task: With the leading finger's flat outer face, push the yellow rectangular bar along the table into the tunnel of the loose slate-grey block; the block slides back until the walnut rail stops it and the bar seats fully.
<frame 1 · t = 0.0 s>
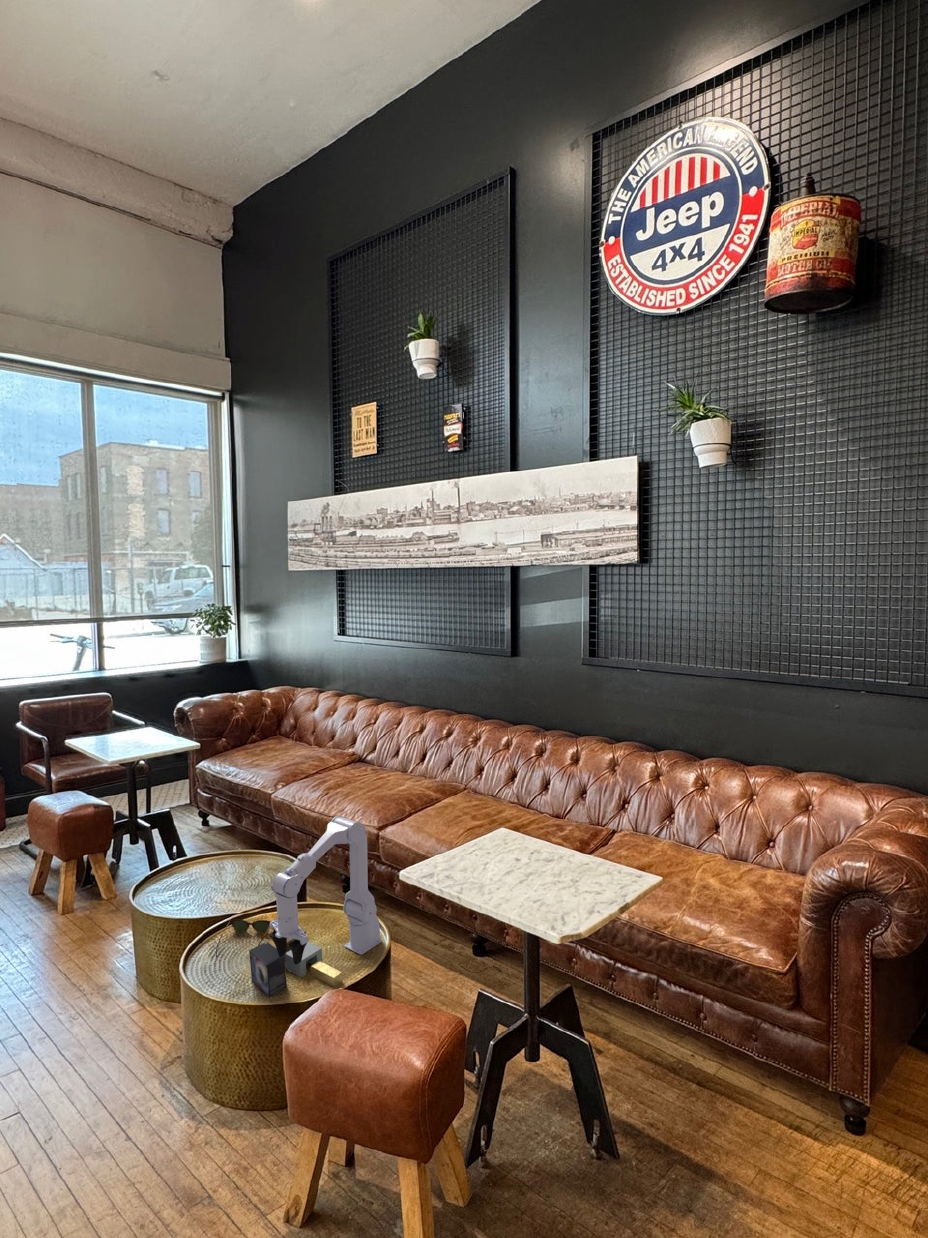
hand: (290, 958, 211), 10 cm above the table, fingers open, 6 cm apart
socket block: (304, 966, 224), on the table
sunglasses: (243, 946, 236), on the table
small box: (268, 985, 216), on the table, touching gripper
yellow rectangular bar: (326, 979, 218), on the table
backstop wall: (288, 957, 228), on the table
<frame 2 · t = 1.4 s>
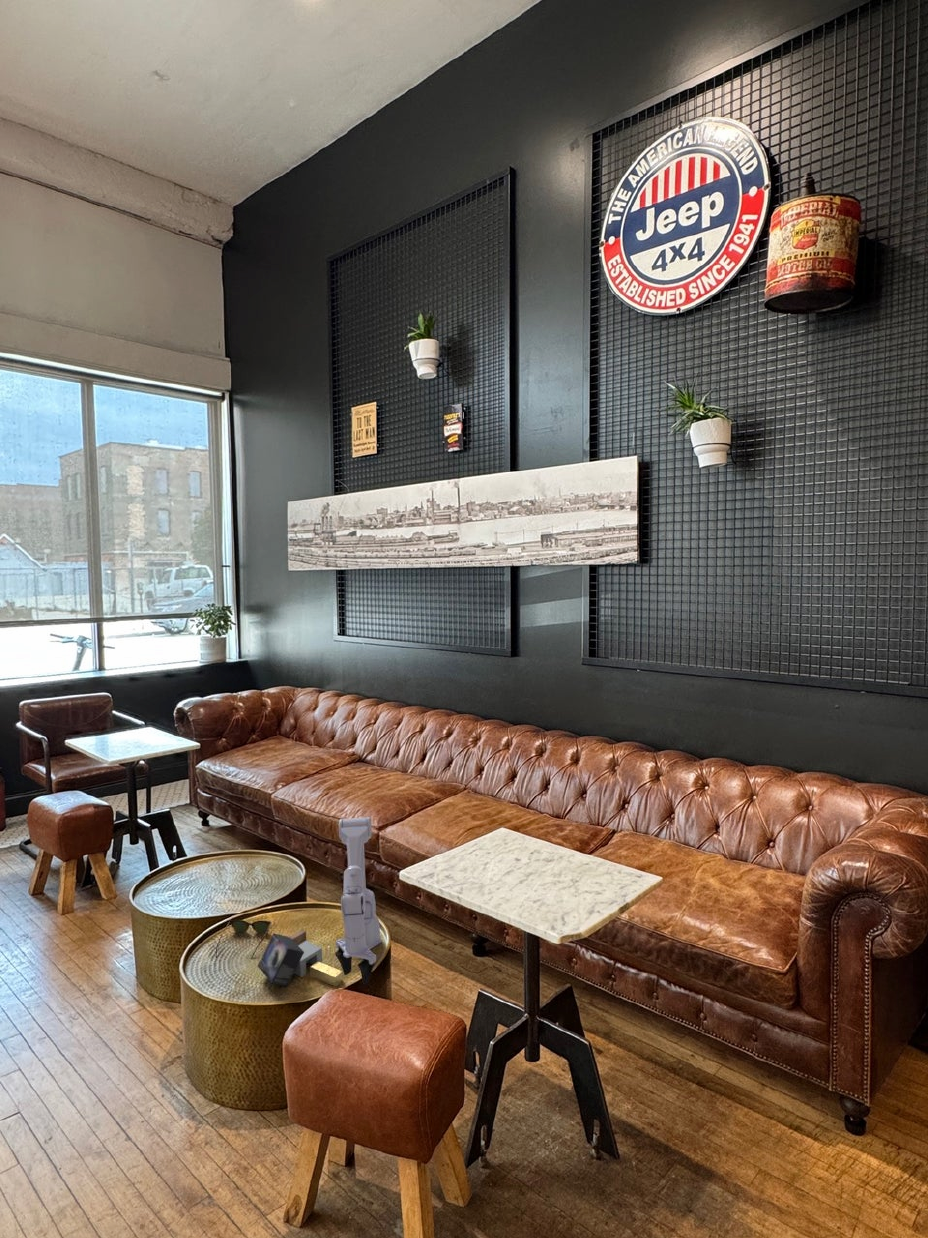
hand: (356, 978, 209), 5 cm above the table, fingers open, 7 cm apart
socket block: (304, 966, 224), on the table, touching small box
small box: (271, 977, 216), point 2 cm above the table, touching socket block
everything else where it was.
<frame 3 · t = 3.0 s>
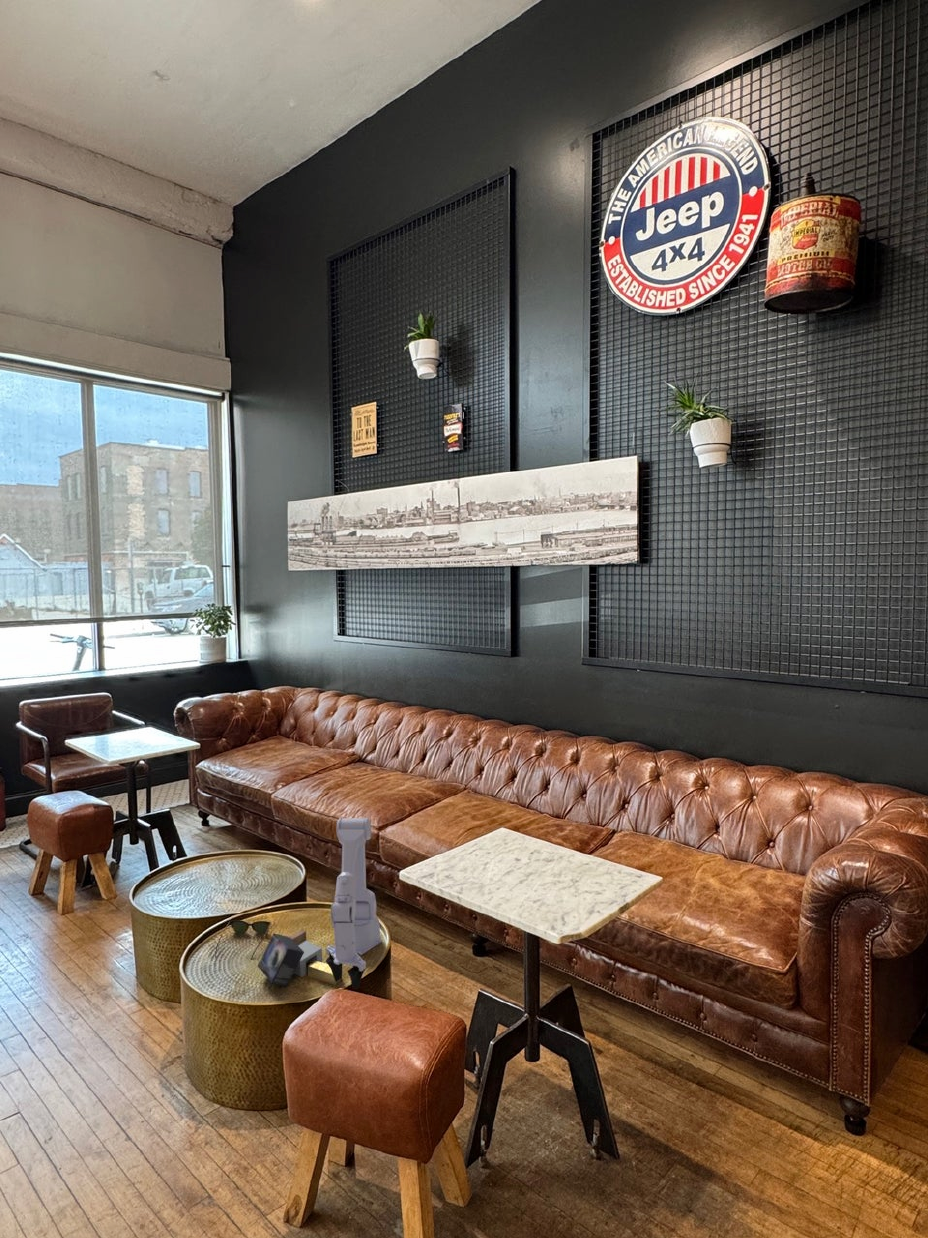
hand: (347, 984, 212), 1 cm above the table, fingers open, 7 cm apart
yellow rectangular bar: (324, 977, 218), on the table, touching gripper
everything else where it was.
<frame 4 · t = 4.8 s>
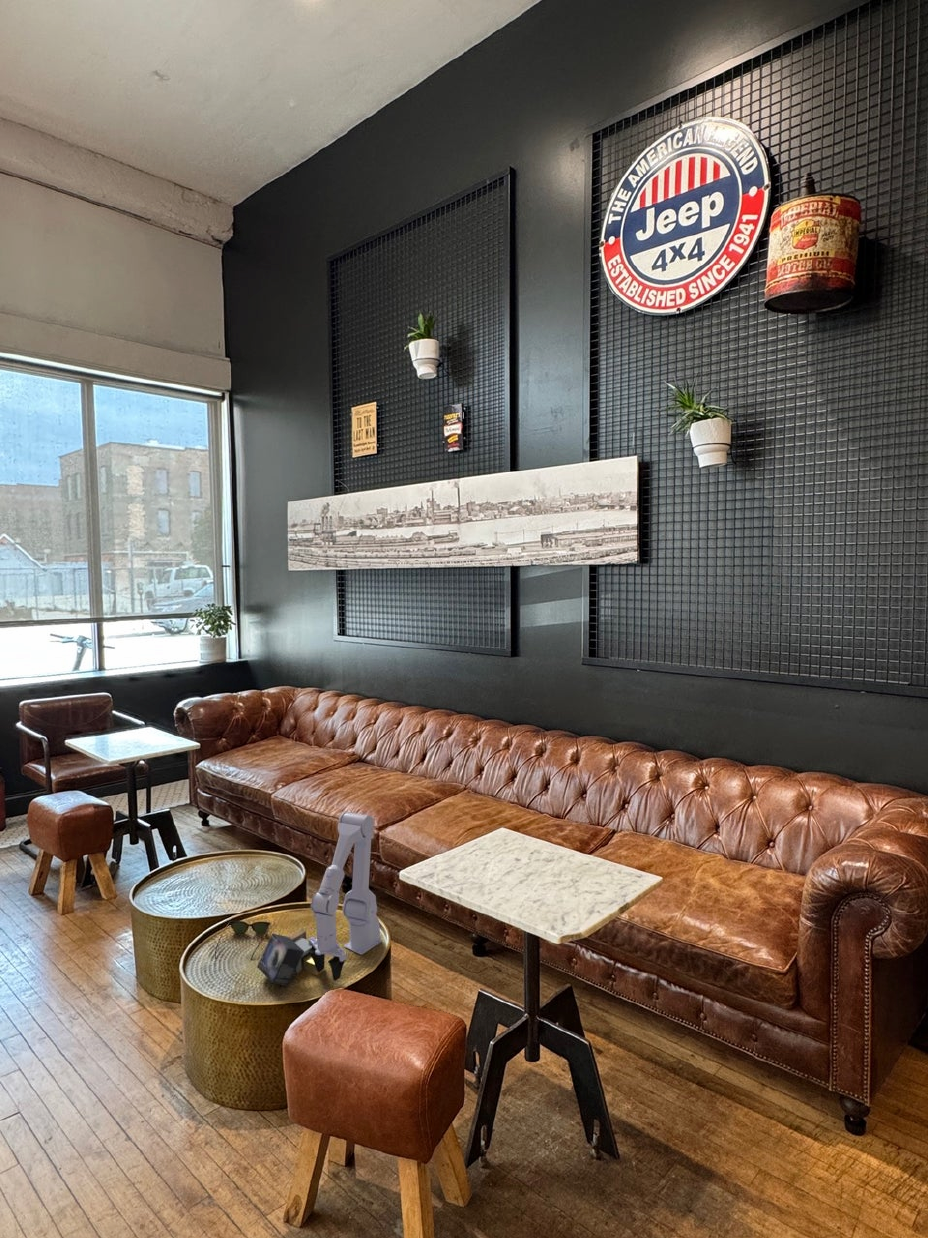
hand: (328, 974, 217), 2 cm above the table, fingers open, 6 cm apart
socket block: (299, 962, 226), on the table, touching yellow rectangular bar, small box
yellow rectangular bar: (309, 967, 223), on the table, touching gripper, socket block
everything else where it was.
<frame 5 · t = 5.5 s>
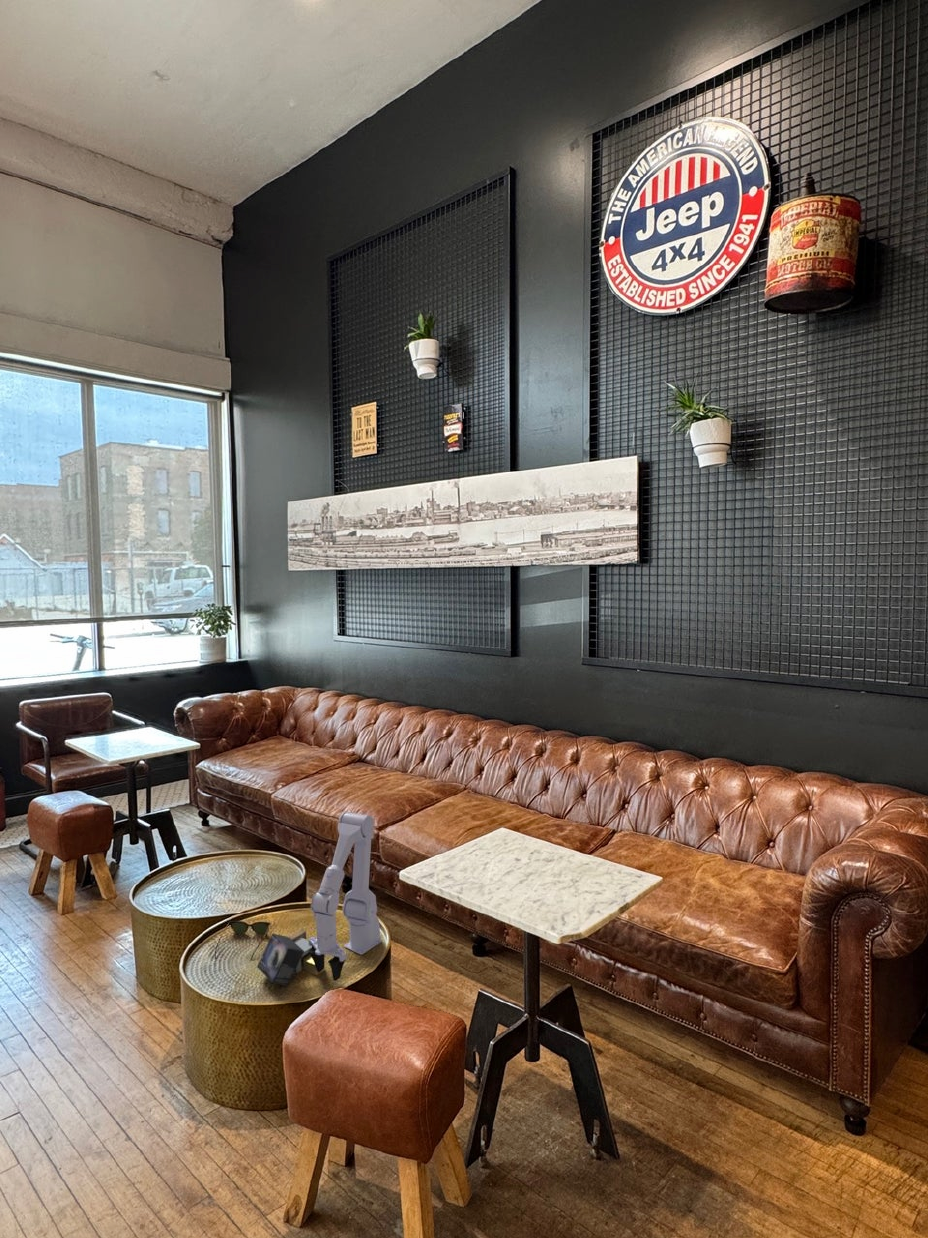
hand: (328, 974, 217), 2 cm above the table, fingers open, 6 cm apart
socket block: (299, 962, 226), on the table, touching backstop wall, yellow rectangular bar
small box: (271, 977, 216), point 2 cm above the table
everything else where it was.
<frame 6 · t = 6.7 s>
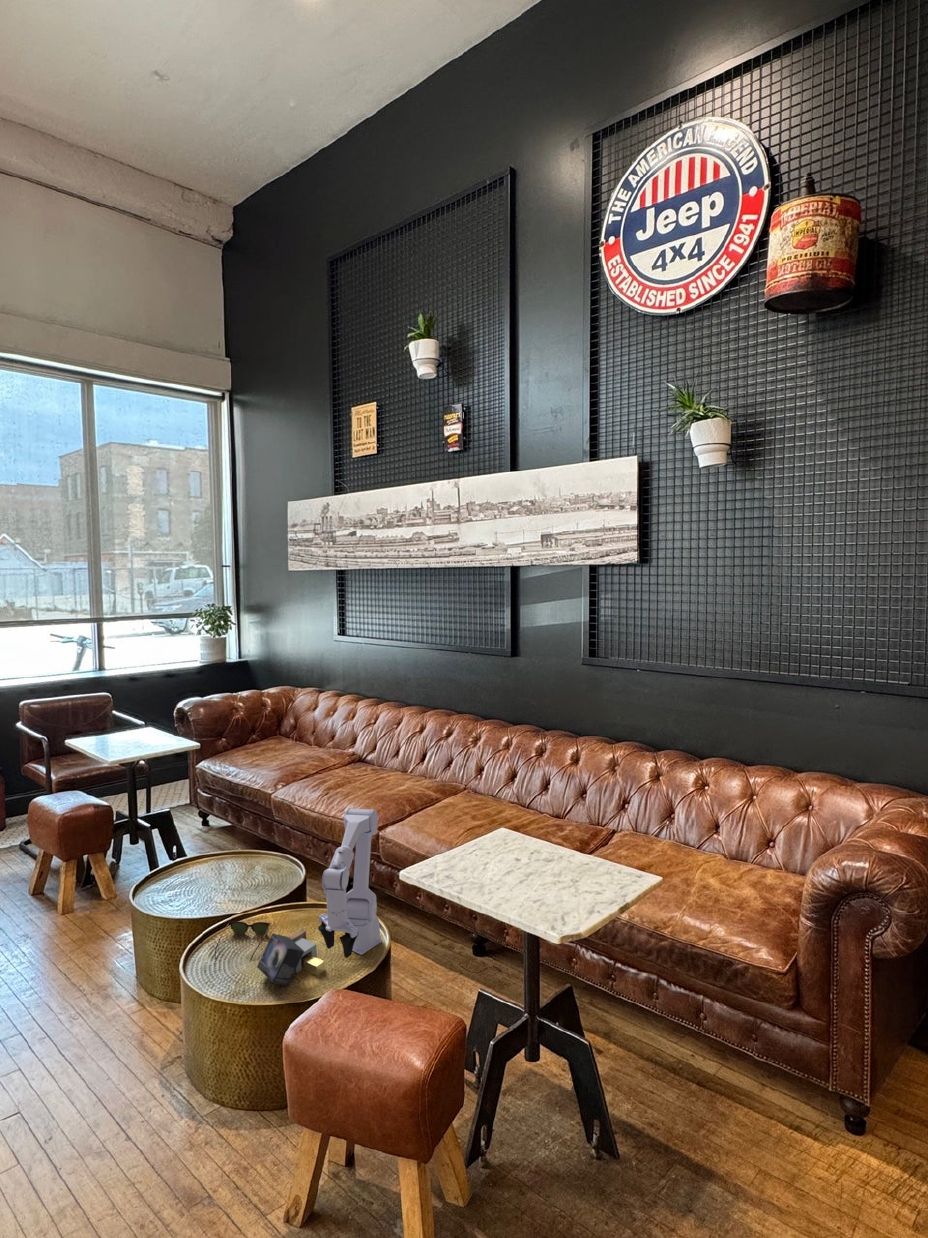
hand: (339, 951, 214), 10 cm above the table, fingers open, 7 cm apart
socket block: (299, 962, 226), on the table, touching backstop wall, small box
small box: (271, 977, 216), point 2 cm above the table, touching socket block
yellow rectangular bar: (309, 968, 223), on the table
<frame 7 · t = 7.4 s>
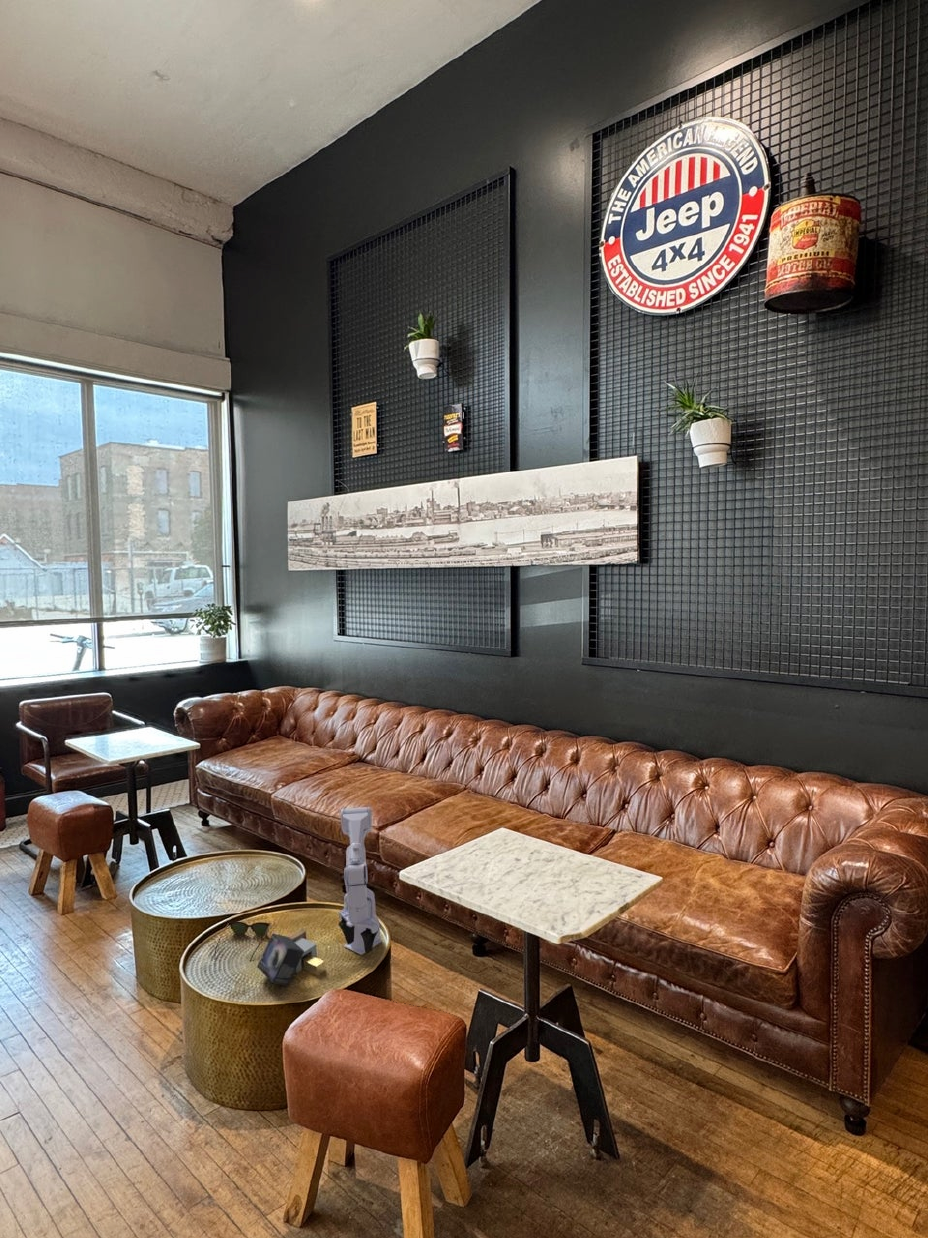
hand: (359, 947, 216), 10 cm above the table, fingers open, 7 cm apart
socket block: (299, 962, 226), on the table, touching small box
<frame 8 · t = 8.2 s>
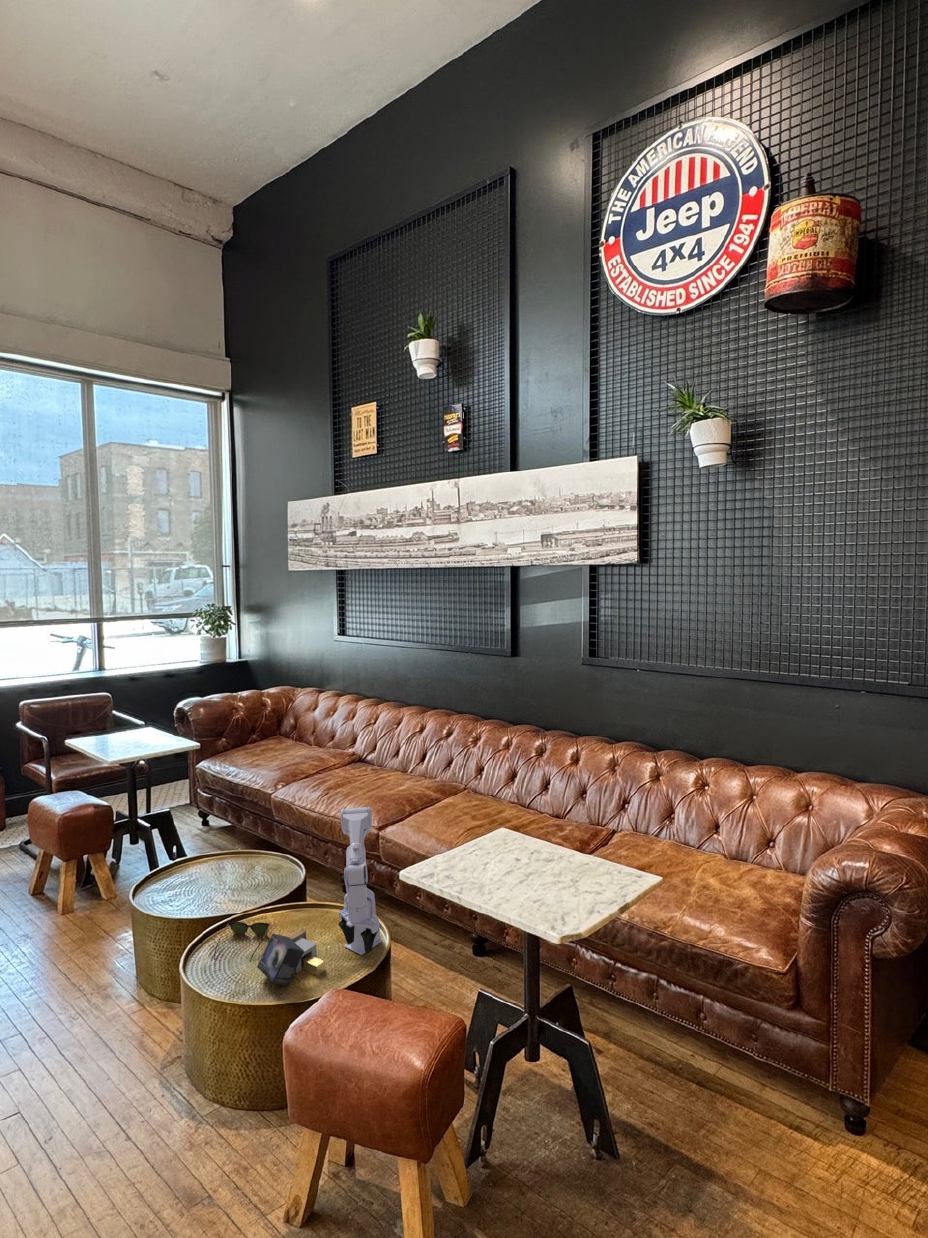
hand: (359, 947, 216), 10 cm above the table, fingers open, 7 cm apart
socket block: (299, 962, 226), on the table
small box: (271, 977, 216), point 2 cm above the table
at the end: yellow rectangular bar 0.3 cm from the target spot on the table beside the socket block, on the table; socket block 0.3 cm from the target spot, on the table; socket block tilted 0° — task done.
